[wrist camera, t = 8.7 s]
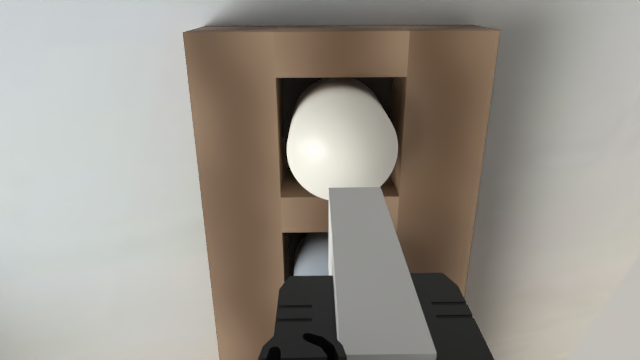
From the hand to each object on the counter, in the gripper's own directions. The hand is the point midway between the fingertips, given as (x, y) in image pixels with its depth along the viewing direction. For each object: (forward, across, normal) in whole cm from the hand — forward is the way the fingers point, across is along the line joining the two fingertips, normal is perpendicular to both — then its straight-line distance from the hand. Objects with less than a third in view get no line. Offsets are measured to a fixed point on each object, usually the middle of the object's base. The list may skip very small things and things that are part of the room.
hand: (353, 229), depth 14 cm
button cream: (+13, 0, 0) cm, 13 cm away
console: (+13, 0, -8) cm, 15 cm away
